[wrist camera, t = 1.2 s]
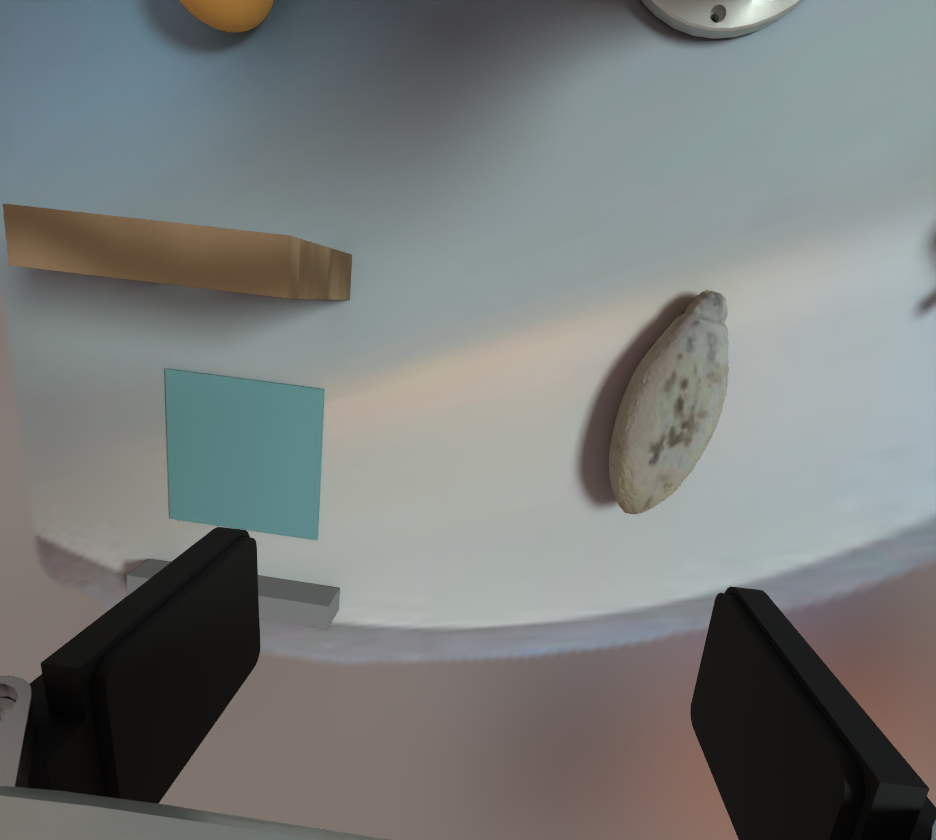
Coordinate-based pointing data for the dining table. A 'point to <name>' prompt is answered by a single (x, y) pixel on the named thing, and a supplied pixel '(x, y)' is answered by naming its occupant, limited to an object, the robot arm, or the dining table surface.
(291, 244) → the bridge
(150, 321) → the dining table surface
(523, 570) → the dining table surface
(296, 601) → the stopper rail
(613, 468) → the decorative stone
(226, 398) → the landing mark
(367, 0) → the dining table surface
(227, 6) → the ball
